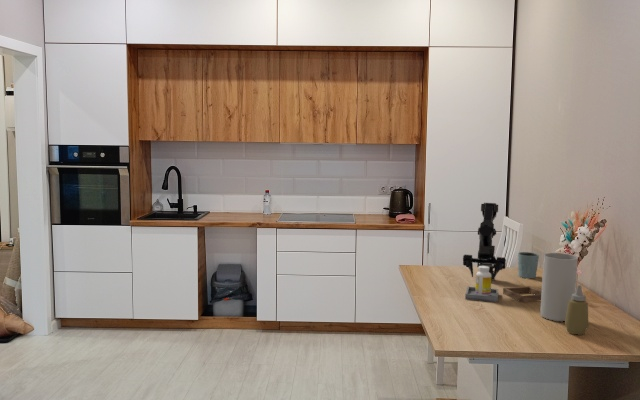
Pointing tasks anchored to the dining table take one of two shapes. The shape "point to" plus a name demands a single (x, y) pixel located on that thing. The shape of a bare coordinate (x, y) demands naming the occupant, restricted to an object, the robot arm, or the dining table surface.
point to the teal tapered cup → (527, 264)
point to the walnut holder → (513, 291)
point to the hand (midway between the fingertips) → (482, 277)
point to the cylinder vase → (557, 285)
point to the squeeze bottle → (577, 313)
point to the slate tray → (472, 295)
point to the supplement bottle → (483, 281)
